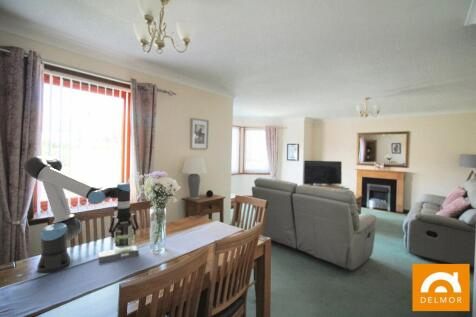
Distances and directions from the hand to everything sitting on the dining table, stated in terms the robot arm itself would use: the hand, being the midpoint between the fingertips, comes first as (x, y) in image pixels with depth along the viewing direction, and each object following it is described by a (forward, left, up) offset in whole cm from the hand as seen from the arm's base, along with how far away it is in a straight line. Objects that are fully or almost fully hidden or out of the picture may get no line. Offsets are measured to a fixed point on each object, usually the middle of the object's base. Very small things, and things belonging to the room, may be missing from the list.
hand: (124, 241), depth 154 cm
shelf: (-3, 0, -8) cm, 9 cm away
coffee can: (0, 0, -2) cm, 2 cm away
